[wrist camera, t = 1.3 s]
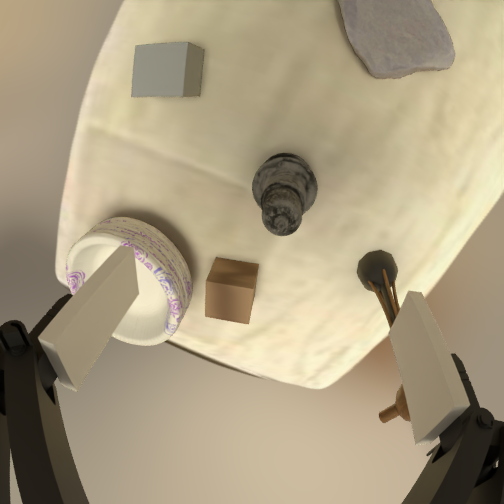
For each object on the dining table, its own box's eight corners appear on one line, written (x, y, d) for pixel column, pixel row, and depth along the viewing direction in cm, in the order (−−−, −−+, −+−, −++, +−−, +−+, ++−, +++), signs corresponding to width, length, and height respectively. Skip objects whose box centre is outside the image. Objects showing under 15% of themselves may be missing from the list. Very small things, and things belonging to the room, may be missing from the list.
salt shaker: (294, 139, 28) (294, 166, 17) (325, 187, 30) (341, 241, 19) (245, 170, 30) (217, 214, 20) (277, 215, 32) (268, 279, 22)
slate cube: (204, 49, 24) (188, 41, 20) (199, 96, 27) (182, 96, 22) (158, 50, 25) (135, 45, 20) (154, 95, 27) (131, 97, 23)
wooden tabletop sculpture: (368, 296, 35) (400, 443, 18) (343, 276, 35) (366, 432, 17) (402, 265, 33) (462, 408, 15) (378, 242, 32) (437, 392, 15)
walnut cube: (258, 263, 35) (253, 289, 31) (254, 297, 38) (248, 324, 33) (216, 256, 36) (205, 280, 31) (215, 290, 38) (205, 316, 34)
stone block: (367, 86, 26) (452, 69, 21) (368, 86, 22) (466, 66, 17) (321, -10, 21) (406, -29, 17) (314, -25, 17) (412, -45, 13)
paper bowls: (79, 243, 38) (45, 273, 31) (146, 181, 32) (110, 207, 25) (146, 321, 43) (125, 359, 36) (225, 282, 37) (209, 325, 30)
